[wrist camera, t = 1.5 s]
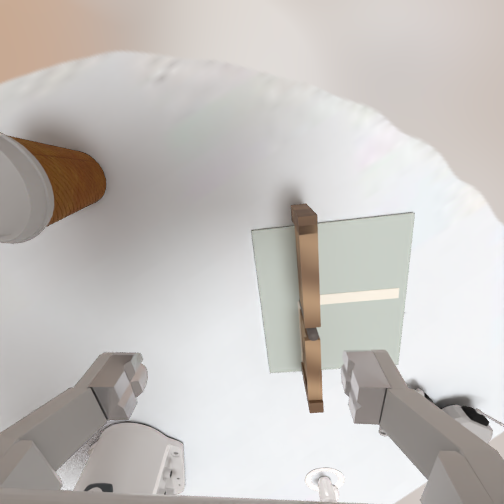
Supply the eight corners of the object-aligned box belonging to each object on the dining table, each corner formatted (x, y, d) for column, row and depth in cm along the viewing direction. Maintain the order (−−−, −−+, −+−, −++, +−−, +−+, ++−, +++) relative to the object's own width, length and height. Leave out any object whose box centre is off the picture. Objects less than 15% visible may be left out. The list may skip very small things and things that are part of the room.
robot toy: (368, 418, 45) (442, 447, 45) (377, 444, 40) (459, 476, 41) (408, 371, 40) (489, 404, 41) (423, 395, 36) (513, 431, 37)
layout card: (396, 362, 39) (398, 365, 38) (270, 371, 40) (270, 373, 40) (412, 212, 30) (415, 213, 30) (251, 230, 32) (251, 231, 31)
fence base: (313, 369, 39) (324, 415, 32) (301, 370, 39) (310, 415, 32) (309, 296, 34) (321, 331, 28) (296, 298, 35) (305, 333, 28)
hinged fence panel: (310, 297, 33) (320, 327, 28) (297, 299, 34) (304, 328, 28) (306, 203, 29) (317, 215, 23) (290, 205, 29) (298, 217, 23)
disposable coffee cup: (64, 222, 32) (-41, 257, 21) (26, 145, 29) (-121, 138, 18) (131, 208, 31) (58, 236, 20) (100, 126, 28) (-8, 106, 17)
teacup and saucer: (337, 492, 52) (343, 519, 48) (300, 488, 52) (303, 514, 48) (348, 467, 49) (355, 493, 45) (308, 463, 49) (312, 488, 45)
